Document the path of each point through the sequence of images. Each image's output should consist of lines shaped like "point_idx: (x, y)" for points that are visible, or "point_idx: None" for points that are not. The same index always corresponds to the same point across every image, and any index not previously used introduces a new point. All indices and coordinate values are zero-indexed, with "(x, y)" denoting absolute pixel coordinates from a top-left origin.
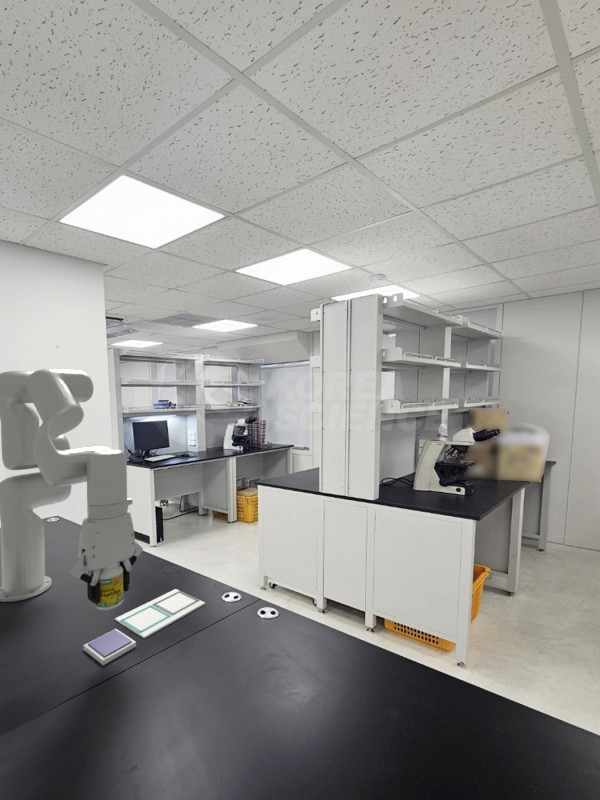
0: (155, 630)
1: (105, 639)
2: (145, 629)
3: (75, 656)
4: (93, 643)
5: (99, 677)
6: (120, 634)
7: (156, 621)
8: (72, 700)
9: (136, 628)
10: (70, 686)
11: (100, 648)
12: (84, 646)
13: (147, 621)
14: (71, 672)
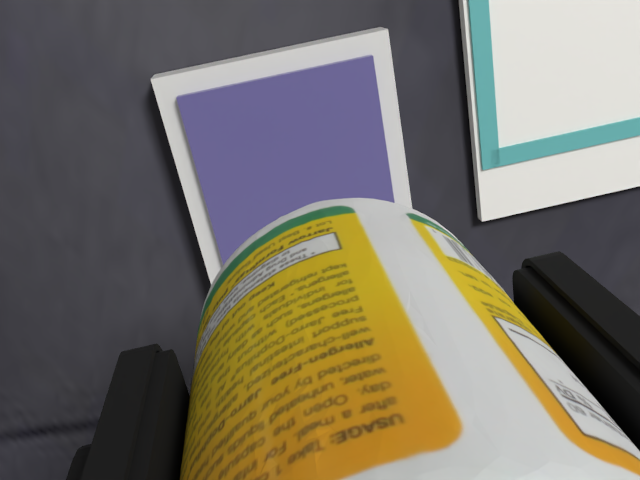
0: (559, 203)
1: (284, 135)
2: (524, 157)
3: (99, 110)
4: (208, 126)
5: (184, 374)
6: (379, 149)
7: (619, 111)
8: (51, 444)
9: (492, 103)
10: (49, 354)
11: (231, 217)
12: (155, 92)
13: (583, 67)
14: (63, 251)
